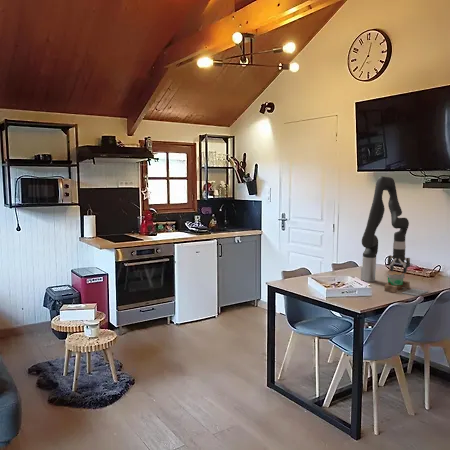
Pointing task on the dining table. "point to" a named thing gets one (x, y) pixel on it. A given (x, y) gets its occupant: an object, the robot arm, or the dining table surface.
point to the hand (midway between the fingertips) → (398, 272)
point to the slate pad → (414, 292)
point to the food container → (396, 280)
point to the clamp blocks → (394, 288)
